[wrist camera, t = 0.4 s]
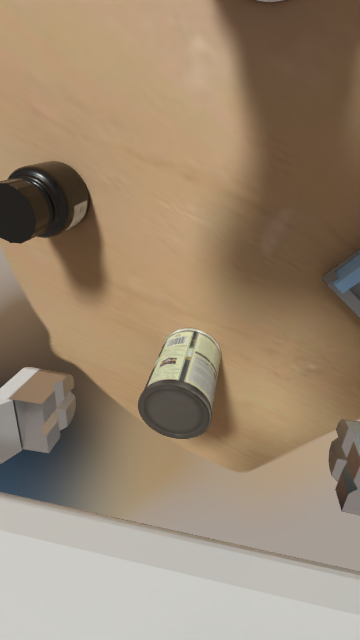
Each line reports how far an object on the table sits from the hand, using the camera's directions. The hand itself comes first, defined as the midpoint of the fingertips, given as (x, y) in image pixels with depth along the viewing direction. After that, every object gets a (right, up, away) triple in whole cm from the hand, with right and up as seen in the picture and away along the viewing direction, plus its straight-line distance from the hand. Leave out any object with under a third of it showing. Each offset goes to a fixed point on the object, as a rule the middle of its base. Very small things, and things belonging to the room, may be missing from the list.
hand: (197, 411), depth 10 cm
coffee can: (+2, -3, +47) cm, 47 cm away
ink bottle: (-17, +21, +38) cm, 47 cm away
